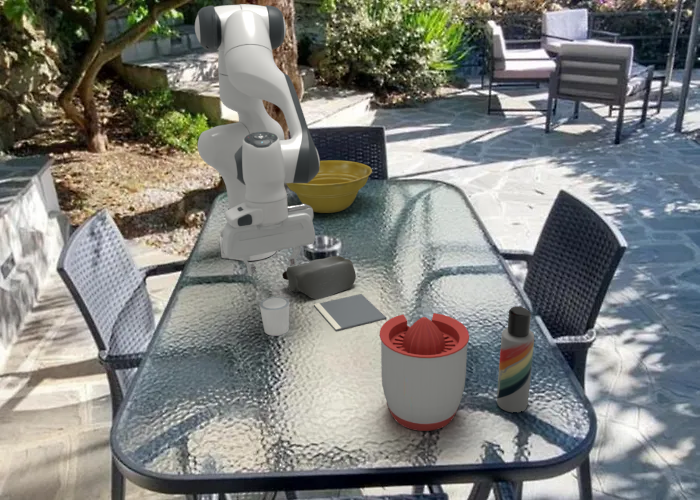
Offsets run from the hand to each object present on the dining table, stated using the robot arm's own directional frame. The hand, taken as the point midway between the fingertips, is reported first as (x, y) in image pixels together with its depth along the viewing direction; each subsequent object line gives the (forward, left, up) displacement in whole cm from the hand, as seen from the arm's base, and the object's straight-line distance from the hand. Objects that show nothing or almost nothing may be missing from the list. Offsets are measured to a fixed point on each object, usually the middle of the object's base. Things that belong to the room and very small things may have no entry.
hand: (272, 268), depth 142 cm
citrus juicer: (+41, +15, -16) cm, 46 cm away
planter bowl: (-76, +44, -16) cm, 89 cm away
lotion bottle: (+47, +31, -16) cm, 58 cm away
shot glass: (0, 0, -16) cm, 16 cm away
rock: (-16, +17, -16) cm, 28 cm away
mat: (0, +18, -16) cm, 24 cm away
